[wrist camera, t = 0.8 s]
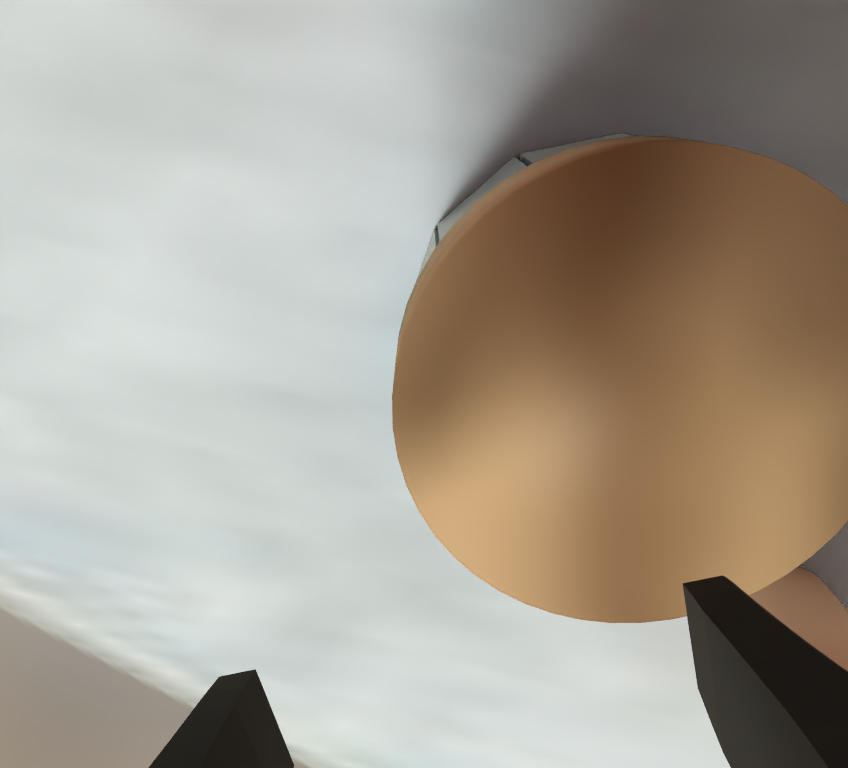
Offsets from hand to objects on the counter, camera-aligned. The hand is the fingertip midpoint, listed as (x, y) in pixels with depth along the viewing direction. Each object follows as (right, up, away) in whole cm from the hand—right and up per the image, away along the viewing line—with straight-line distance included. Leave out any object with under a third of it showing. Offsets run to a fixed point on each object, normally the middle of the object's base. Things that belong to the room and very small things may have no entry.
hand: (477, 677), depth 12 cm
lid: (+4, +5, +5) cm, 8 cm away
